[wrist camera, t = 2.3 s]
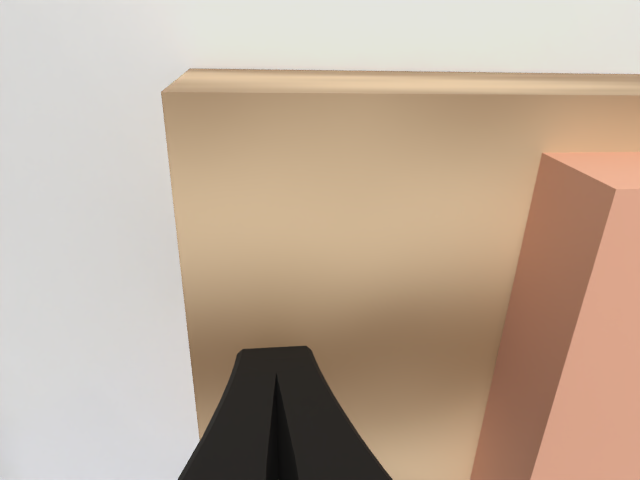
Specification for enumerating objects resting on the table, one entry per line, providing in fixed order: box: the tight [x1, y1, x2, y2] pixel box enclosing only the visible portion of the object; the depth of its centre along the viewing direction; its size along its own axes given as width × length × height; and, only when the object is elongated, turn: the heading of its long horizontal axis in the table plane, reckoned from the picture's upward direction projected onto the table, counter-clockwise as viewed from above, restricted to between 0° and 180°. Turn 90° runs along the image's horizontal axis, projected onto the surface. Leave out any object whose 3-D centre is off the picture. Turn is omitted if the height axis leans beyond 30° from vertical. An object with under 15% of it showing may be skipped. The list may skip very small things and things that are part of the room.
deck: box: [161, 69, 640, 480], centre depth 12 cm, size 11×15×4 cm
